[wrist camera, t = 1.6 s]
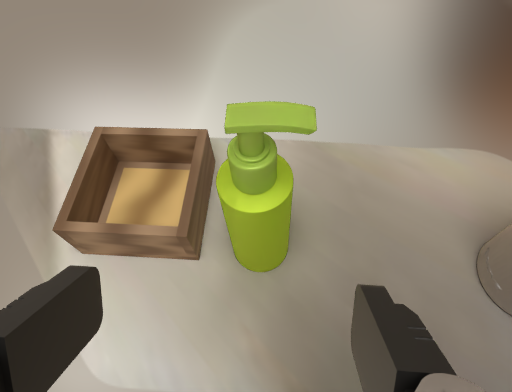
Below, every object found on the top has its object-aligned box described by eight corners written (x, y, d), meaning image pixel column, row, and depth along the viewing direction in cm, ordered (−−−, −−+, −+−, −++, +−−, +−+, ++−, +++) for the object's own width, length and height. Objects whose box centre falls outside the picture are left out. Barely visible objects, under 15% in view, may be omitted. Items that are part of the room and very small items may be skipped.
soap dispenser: (298, 272, 36) (319, 152, 18) (231, 271, 36) (192, 152, 19) (296, 222, 39) (314, 77, 21) (235, 221, 39) (204, 79, 22)
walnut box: (215, 161, 43) (207, 129, 38) (198, 260, 37) (186, 236, 32) (115, 158, 44) (95, 126, 39) (82, 253, 38) (52, 230, 33)
